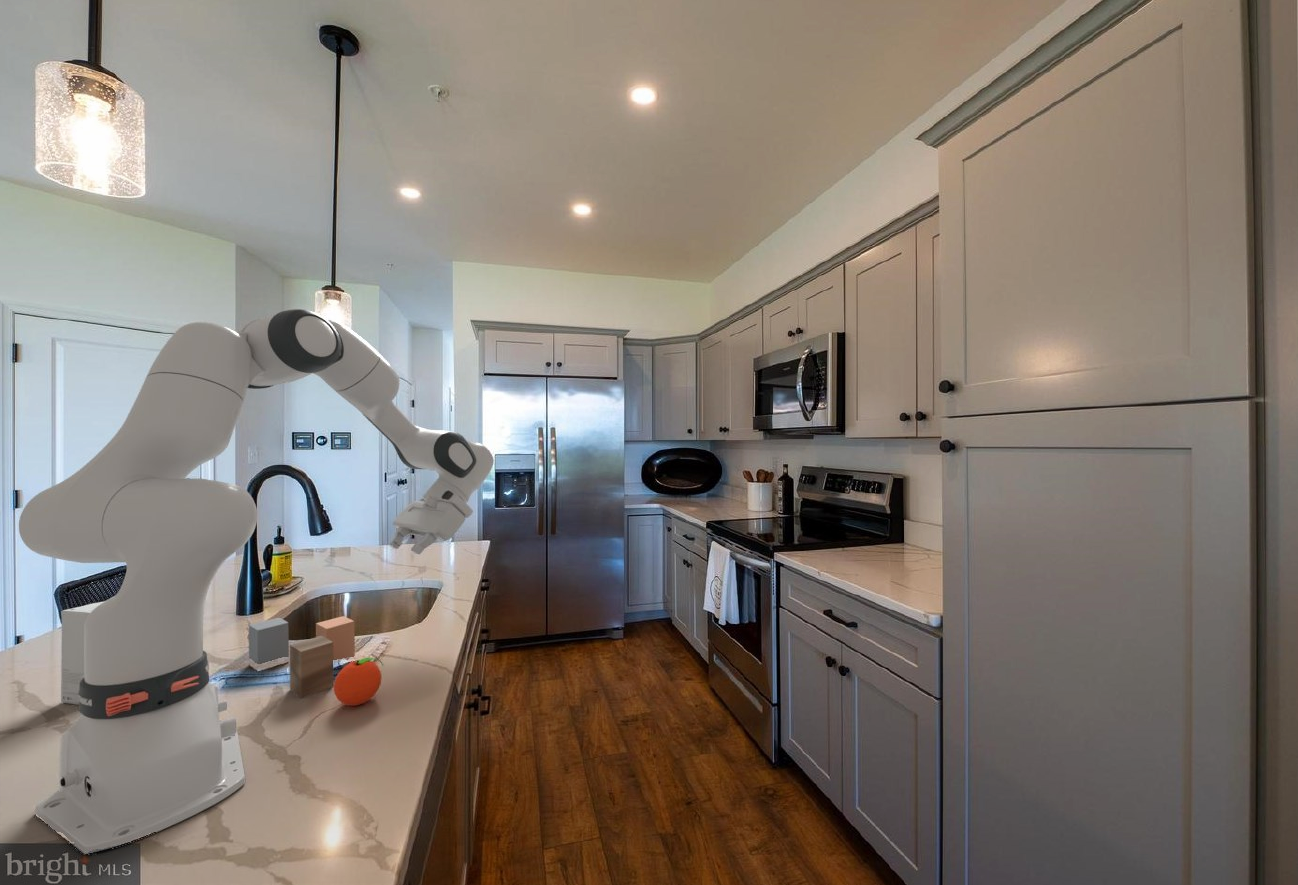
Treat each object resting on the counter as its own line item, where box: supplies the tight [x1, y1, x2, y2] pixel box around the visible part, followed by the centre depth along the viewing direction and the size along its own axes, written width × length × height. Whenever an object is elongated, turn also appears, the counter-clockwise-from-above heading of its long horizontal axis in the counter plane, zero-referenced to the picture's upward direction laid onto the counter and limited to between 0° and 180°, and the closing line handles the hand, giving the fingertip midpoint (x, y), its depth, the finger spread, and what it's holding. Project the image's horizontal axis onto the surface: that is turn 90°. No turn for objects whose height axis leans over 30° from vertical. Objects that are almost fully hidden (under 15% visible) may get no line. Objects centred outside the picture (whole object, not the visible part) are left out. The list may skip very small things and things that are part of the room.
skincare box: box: [60, 600, 106, 706], centre depth 87 cm, size 8×7×16 cm
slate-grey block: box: [248, 617, 290, 664], centre depth 98 cm, size 5×5×8 cm
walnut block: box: [289, 636, 335, 699], centre depth 88 cm, size 5×5×8 cm
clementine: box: [333, 657, 384, 707], centre depth 84 cm, size 8×7×7 cm
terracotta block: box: [315, 615, 356, 660], centre depth 99 cm, size 5×5×8 cm
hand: (403, 549), depth 110 cm, fingers open, 8 cm apart
